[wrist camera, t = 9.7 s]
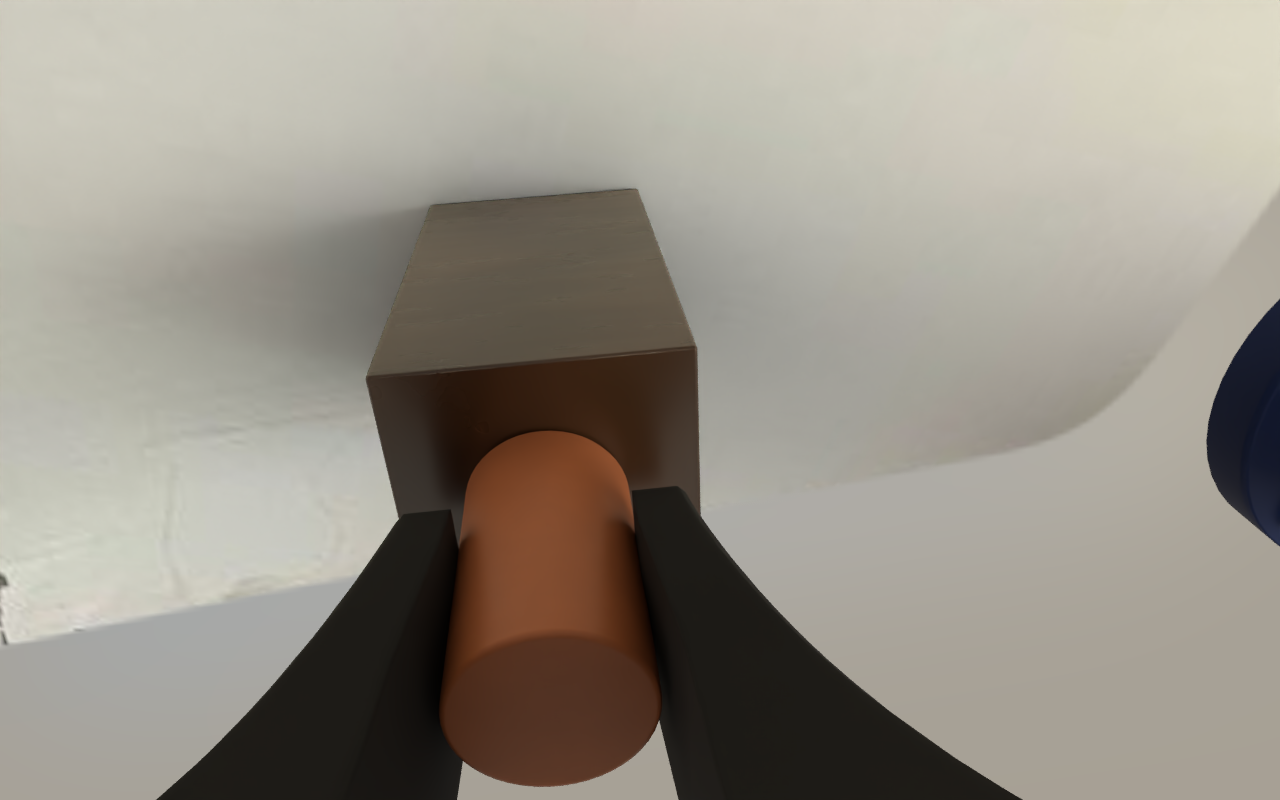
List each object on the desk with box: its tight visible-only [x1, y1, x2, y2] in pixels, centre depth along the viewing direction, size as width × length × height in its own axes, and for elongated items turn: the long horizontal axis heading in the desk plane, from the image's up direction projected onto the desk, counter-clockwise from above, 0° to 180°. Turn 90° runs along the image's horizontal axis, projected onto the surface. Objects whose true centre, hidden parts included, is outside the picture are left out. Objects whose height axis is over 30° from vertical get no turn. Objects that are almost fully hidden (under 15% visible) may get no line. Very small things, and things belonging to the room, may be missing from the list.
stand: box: [366, 189, 701, 548], centre depth 16 cm, size 4×4×8 cm
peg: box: [439, 431, 662, 787], centre depth 11 cm, size 2×2×4 cm
